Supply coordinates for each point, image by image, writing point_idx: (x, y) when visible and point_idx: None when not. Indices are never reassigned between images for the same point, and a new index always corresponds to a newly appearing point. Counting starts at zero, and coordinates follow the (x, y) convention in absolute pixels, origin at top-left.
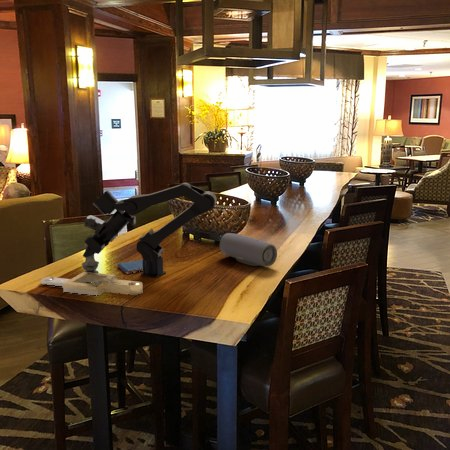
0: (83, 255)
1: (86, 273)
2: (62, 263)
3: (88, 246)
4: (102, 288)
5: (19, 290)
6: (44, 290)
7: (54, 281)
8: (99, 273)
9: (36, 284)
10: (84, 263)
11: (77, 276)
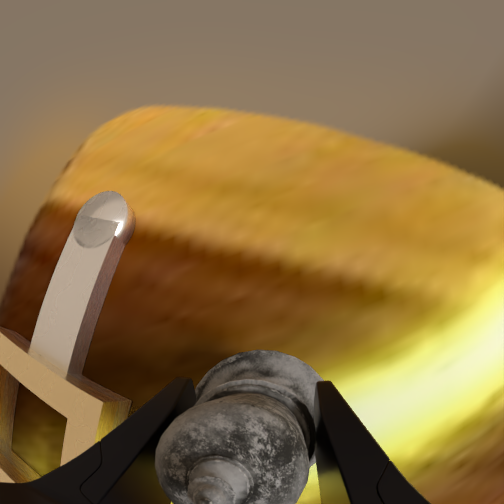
0: (173, 385)
1: (76, 421)
2: (417, 176)
3: (56, 475)
4: None
5: (69, 171)
6: (44, 251)
7: (63, 263)
8: None
9: None
10: (222, 382)
11: (40, 374)
